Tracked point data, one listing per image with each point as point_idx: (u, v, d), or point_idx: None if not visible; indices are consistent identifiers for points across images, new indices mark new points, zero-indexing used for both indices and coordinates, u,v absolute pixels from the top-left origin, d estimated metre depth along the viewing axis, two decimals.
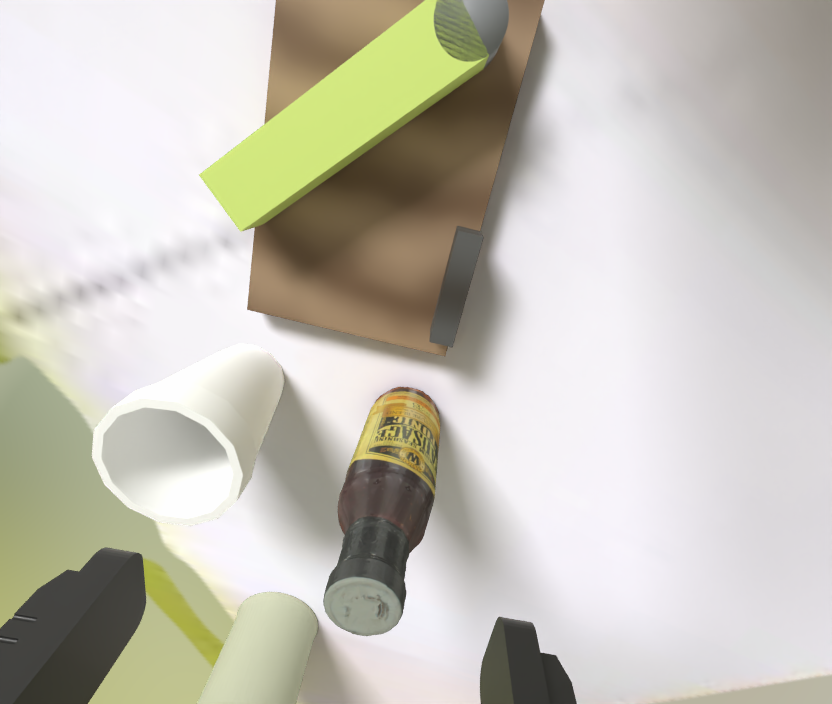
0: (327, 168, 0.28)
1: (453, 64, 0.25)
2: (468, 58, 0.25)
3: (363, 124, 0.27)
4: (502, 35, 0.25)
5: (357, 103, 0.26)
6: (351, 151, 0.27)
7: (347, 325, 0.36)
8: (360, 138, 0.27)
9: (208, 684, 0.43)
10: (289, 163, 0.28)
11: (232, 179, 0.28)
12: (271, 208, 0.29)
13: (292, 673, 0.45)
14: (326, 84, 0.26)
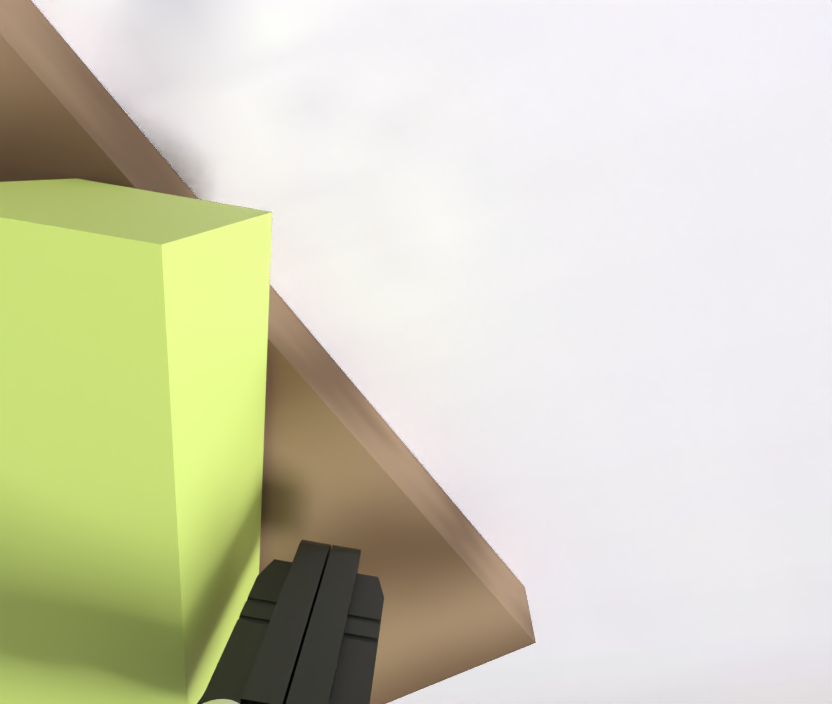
0: None
1: None
2: None
3: None
4: None
5: None
6: None
7: None
8: (11, 686, 0.09)
9: None
10: (32, 532, 0.08)
11: (73, 347, 0.06)
12: None
13: None
14: None
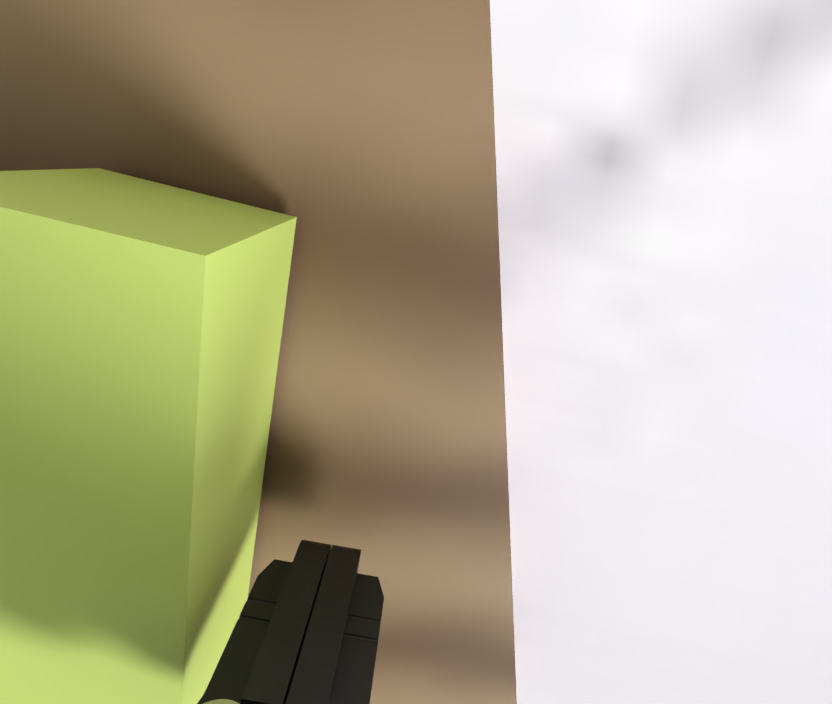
0: None
1: None
2: None
3: (28, 701, 0.09)
4: None
5: None
6: None
7: (49, 7, 0.08)
8: None
9: None
10: (39, 529, 0.08)
11: (102, 350, 0.06)
12: None
13: None
14: None
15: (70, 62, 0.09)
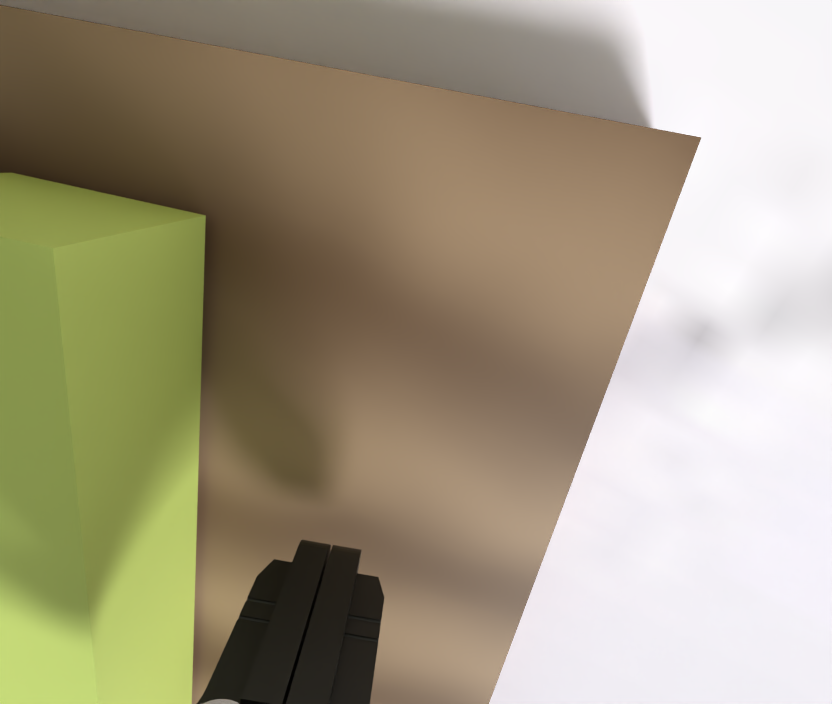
0: None
1: None
2: None
3: None
4: None
5: None
6: None
7: (286, 97, 0.09)
8: None
9: None
10: None
11: None
12: None
13: None
14: None
15: (285, 146, 0.09)
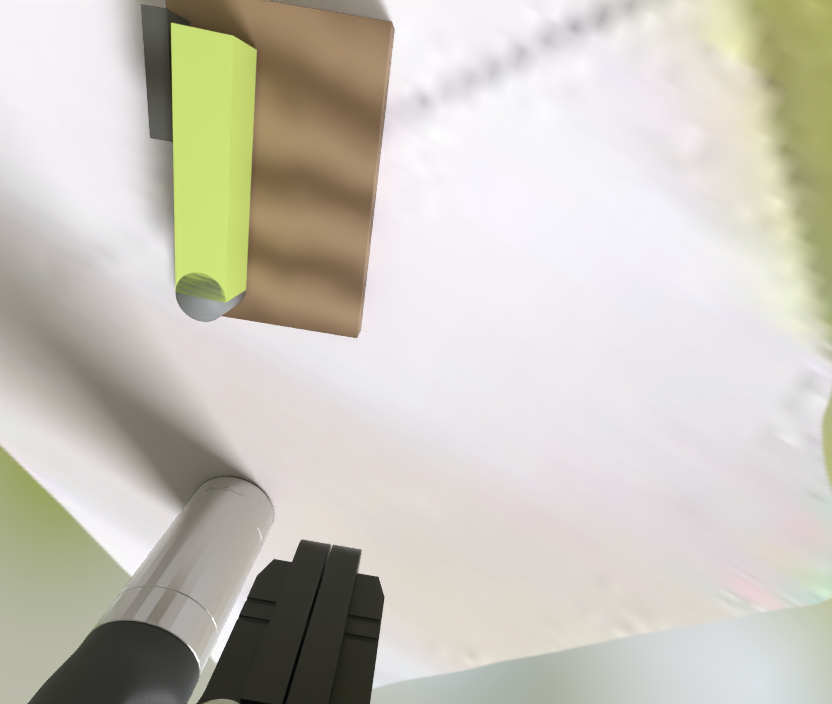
0: (173, 142, 0.32)
1: (183, 271, 0.35)
2: (181, 281, 0.36)
3: (185, 192, 0.33)
4: (180, 306, 0.36)
5: (200, 199, 0.33)
6: (174, 169, 0.32)
7: (279, 13, 0.32)
8: (178, 182, 0.33)
9: None
10: (194, 118, 0.31)
11: (212, 60, 0.30)
12: (172, 69, 0.30)
13: None
14: (224, 190, 0.33)
15: (279, 28, 0.33)
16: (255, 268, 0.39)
